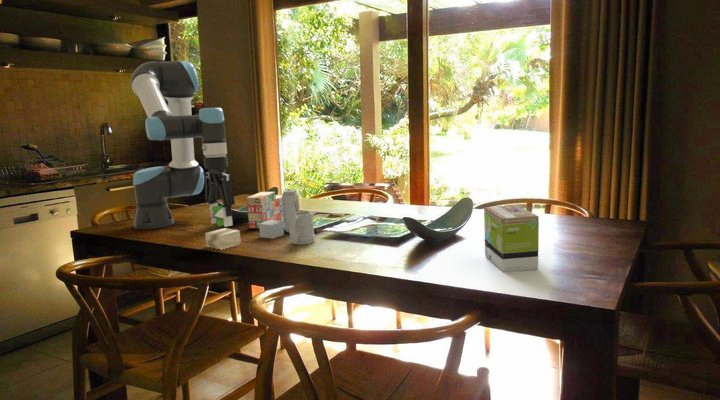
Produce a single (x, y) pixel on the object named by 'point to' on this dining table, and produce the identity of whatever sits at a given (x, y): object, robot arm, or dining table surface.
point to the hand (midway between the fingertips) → (221, 224)
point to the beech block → (223, 238)
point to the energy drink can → (289, 206)
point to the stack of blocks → (264, 208)
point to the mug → (301, 228)
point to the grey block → (271, 229)
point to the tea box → (511, 238)
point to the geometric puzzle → (218, 215)
